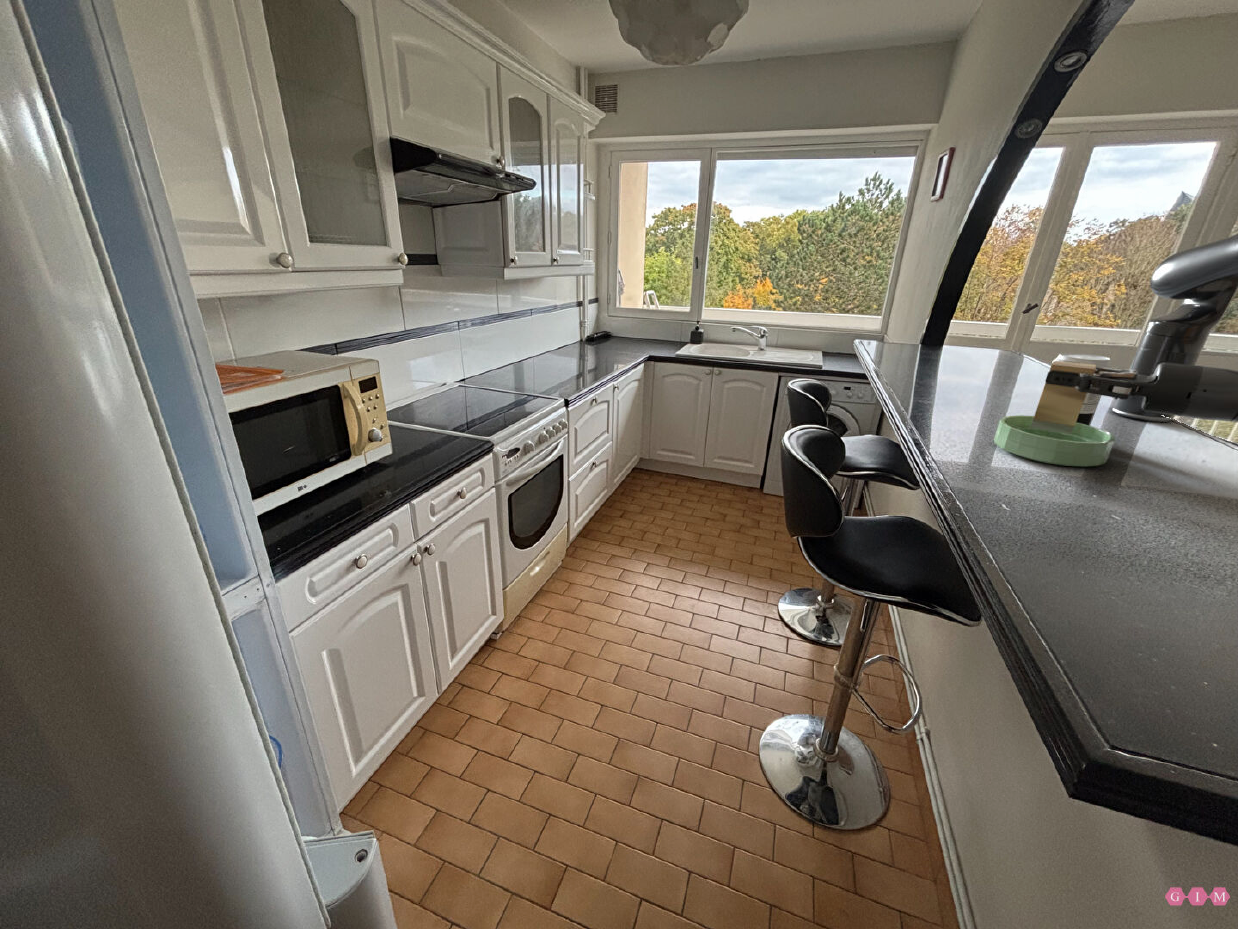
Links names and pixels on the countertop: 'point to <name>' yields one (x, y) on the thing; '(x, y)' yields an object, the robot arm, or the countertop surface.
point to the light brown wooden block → (1061, 401)
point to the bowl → (1054, 442)
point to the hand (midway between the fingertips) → (1049, 374)
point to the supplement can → (1091, 399)
